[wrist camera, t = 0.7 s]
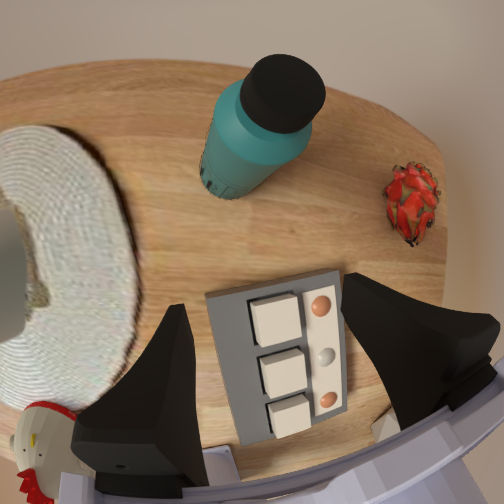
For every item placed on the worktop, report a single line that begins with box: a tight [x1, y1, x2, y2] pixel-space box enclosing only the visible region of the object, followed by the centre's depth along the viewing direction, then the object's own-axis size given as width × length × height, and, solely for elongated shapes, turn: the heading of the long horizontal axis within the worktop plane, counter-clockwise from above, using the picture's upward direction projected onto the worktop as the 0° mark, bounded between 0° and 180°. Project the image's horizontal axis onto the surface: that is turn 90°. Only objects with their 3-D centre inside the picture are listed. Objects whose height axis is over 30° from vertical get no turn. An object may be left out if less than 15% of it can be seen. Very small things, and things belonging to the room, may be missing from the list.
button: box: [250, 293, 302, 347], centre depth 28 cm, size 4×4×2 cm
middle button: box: [260, 348, 307, 399], centre depth 29 cm, size 4×4×2 cm
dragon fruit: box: [382, 161, 441, 247], centre depth 33 cm, size 8×8×12 cm
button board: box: [204, 268, 347, 446], centre depth 31 cm, size 20×15×3 cm
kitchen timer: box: [9, 401, 96, 504], centre depth 18 cm, size 14×14×15 cm
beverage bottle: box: [199, 54, 326, 200], centre depth 21 cm, size 6×7×20 cm
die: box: [371, 407, 401, 443], centre depth 34 cm, size 8×9×10 cm
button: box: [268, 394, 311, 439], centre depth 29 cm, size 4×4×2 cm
